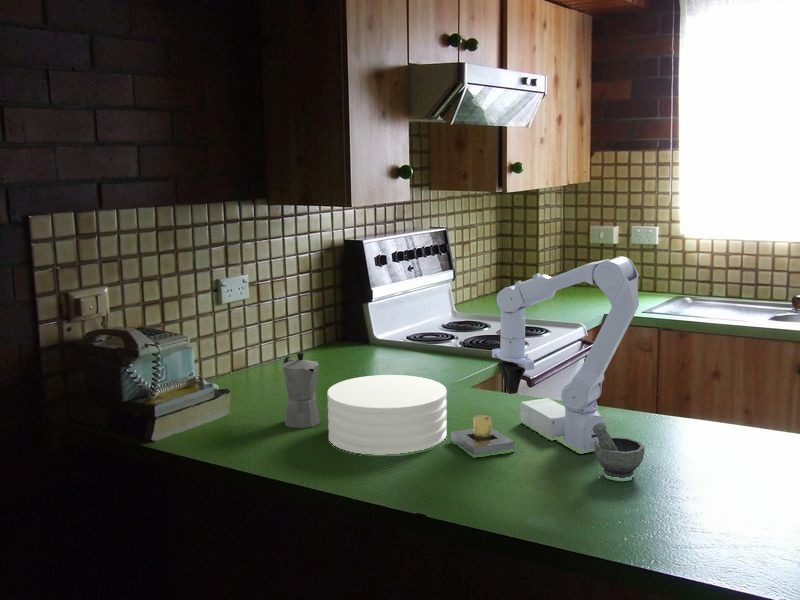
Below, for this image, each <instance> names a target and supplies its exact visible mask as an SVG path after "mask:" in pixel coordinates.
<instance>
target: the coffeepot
mask: <svg viewBox="0 0 800 600" xmlns="http://www.w3.org/2000/svg"><path fill="white" fill-rule="evenodd" d="M296 355H297V359H296V358H295V357H291V356H286V357H285V358H284V360H283V363H282V368H283V374H284V381H285V384H286V385H285V387H286V391H287V393H288V394H287V395H288V396H287V401H286V409H285V416H284V417H285V418H284V424H285V426H286V427H288V428H293V429H309V428H313V427H317V426H318V425H319V424H320V423H321V419H320V414H319V407H318V403H317V399H316V398H317V397H316V391H317V385H318V378H319V369H320V364H319V362H318V361H315V360H308V359H304V352H298V353H296Z"/></svg>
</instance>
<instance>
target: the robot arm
mask: <svg viewBox="0 0 800 600" xmlns="http://www.w3.org/2000/svg"><path fill="white" fill-rule="evenodd" d="M639 277H640V275H639V272H638V270H637V268H636V266H635V264H634V263H633V261H632V260H631V259H630V258H629V257H626V256H621V255H620V256H616V257H613V259H610V258H608V259H602V260H598V261H593V262H590V263H589V262H588V263H586V264H584V265H580V266H578V267H576V268H573V269H570V270H568V271H565V272H563V273H560V274H558V275H555V276H553V277H552V276H550V275H547V274H541V273H536V274H533V275H532V278H529V279H527V280H524V281H521V280H519V281H516V282H515V284H513V285H510V286H507V287H504V288H503V289H501V290H500V291H499V292H498V293H497V296H496V304H497V306H498V308H499V309H500V333H499V334H500V341H499V342H500V344H499V346H500V348H493V349H492V350H491V357H492V358H494V359H500V360H501V361H502V362H499V363H497V368H498V369H499V371H500V373H501V376H502V378H503V382H504V385H505V389H506V393H507V394H510V395H513V394H514V395H515V394H518V391H519V387H520V383H521V380H522V377H523V375H524V373H525V372H526V371H531V370H534V369H535V361H534V360H532V359H531V358H530V357H529V353H528V352H526V347H525V346H526V308H527V307H529V306H530V307H531V306H533V305H535V304H538V303H542V302H545V301H547V300H551V299H553V298H554V296H555V295H556V292H557V291H559V290H561V289H565V288H568V287H571V286H574V285H577V284H581V283H583V282H584V283H587V284H590V285H596V286H598V287H599V289H600V290H601V291H602V293H603V294H604V295H605V296H606V298H608V301H609V304H610V305H611V308H610V310H609V312H608V314H607V316H606V318H605V320H604V322H603V324H602V325H601V328H600V330H599V332H598V333H597V335H596V338H595V340H594V342H593V344H592V346H591V347H590V350H589V352H588V354H587V356H586V358H585V359H584V362H583V363H582V364H581V367H580V368H579V370H578V371H577V372H576V374H575V375H574V376H573V378H572V379H571V381H570V382H569V383H568V384H567V385H565V386H563V388H562V390H561V393H560V394H561V395H560V396H561V397H560V398H561V401H562V403H563V406H564V407H565V436H564V441H565V442H566V443H567V444H569V445H572V446H574V447H577V448H579V449H580V450H582V451H586V450H587V451H588V450H593V449H594V450H595V442H597V441H598V438H597V435H596V434H595V433H594V432H593V430H592V429H593V427H594V426H595V425H596V424H598V423H604V424H605V426H606V427H607V424H606V420H605V418H604V417H603V416H601V414H600V413H599V410H598V409H599V406H598V402H597V399H599V398H600V397H601V394H602V392H603V390H602V387H603V386H602V384H603V382H604V380H605V372H606V370H607V369H608V366H609V364H610V362H611V360H612V358H613V357H614V355H615V354H616V351H617V348H618V347H619V345H620V343H621V341H622V339H623V337H624V336H625V334H626V332H627V330H628V328H629V326H630V324H631V322H632V320H633V318H634V316H635V314H636V313H637V311H638V307H639V304H640V303H639V290H638V289H639V288H638V287H639V286H638V285H639V284H638V282H639V281H638V280H639Z"/></svg>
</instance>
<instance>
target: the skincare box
mask: <svg viewBox="0 0 800 600" xmlns="http://www.w3.org/2000/svg"><path fill="white" fill-rule="evenodd" d="M520 420H521V421H522V422H524V423H526V424H527V425H529V426H531V427H532V428H534V429H536V430H537V431H539V432H540V433H542V434H544V435H545V436H547V437H549V438H554V437H560V436H565V405H562V404H560V403H559V402H556V401H554V400H552V399H550V398H549V397H546V398H538V399H531V400H526V401H520ZM520 420H519V421H520Z"/></svg>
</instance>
